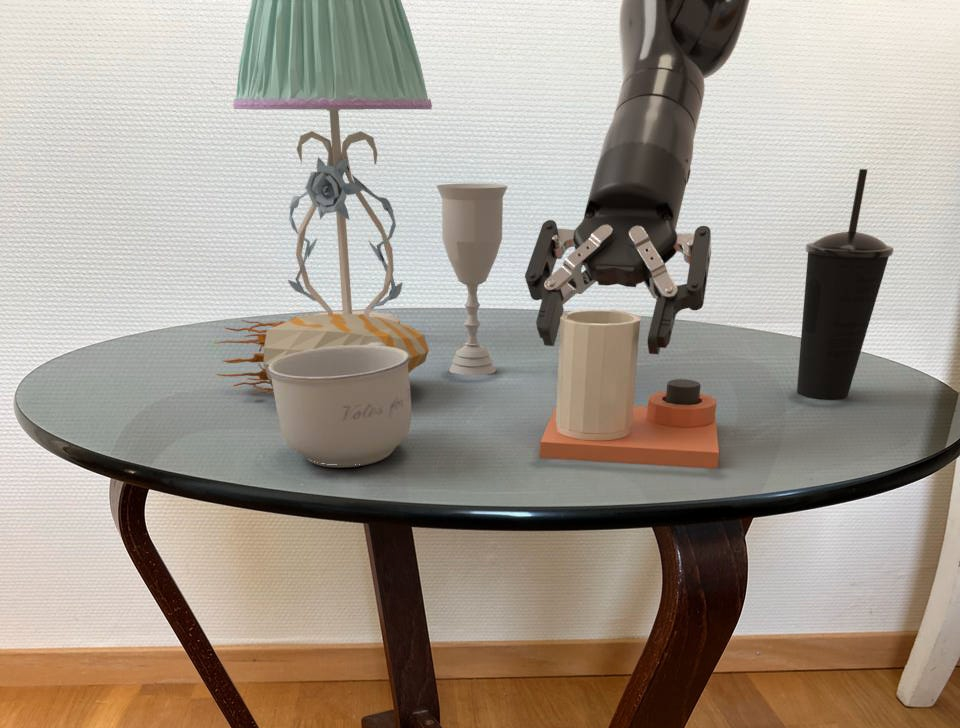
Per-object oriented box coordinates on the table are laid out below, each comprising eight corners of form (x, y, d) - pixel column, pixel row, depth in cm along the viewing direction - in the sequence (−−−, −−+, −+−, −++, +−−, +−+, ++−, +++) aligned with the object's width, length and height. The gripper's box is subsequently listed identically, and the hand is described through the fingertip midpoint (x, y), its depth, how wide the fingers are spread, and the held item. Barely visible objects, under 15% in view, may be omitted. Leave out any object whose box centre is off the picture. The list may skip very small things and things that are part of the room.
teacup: (362, 488, 70) (355, 379, 66) (249, 464, 74) (237, 361, 70) (456, 438, 80) (455, 342, 76) (353, 420, 85) (347, 329, 81)
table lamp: (224, 350, 109) (169, -77, 90) (310, 317, 127) (280, -45, 108) (396, 364, 104) (377, -90, 84) (461, 327, 121) (457, -54, 102)
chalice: (468, 381, 97) (467, 189, 88) (426, 370, 101) (421, 185, 93) (518, 370, 101) (523, 186, 93) (476, 359, 106) (476, 182, 97)
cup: (632, 421, 80) (641, 311, 76) (629, 443, 75) (638, 326, 70) (560, 417, 81) (565, 308, 77) (551, 438, 76) (556, 323, 71)
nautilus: (185, 408, 90) (266, 379, 103) (390, 414, 83) (449, 383, 96) (170, 321, 87) (255, 303, 99) (383, 321, 80) (445, 301, 93)
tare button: (698, 400, 81) (700, 379, 80) (698, 408, 79) (701, 388, 78) (665, 398, 82) (667, 378, 81) (665, 407, 79) (667, 386, 79)
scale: (712, 425, 84) (716, 392, 82) (717, 469, 73) (722, 432, 72) (556, 417, 86) (558, 384, 84) (539, 458, 76) (540, 421, 74)
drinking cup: (859, 408, 89) (907, 172, 79) (776, 399, 91) (813, 170, 82) (866, 389, 95) (912, 168, 85) (788, 381, 98) (824, 166, 88)
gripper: (550, 137, 76) (502, 309, 72) (729, 139, 72) (688, 321, 68) (566, 204, 83) (522, 364, 79) (729, 209, 79) (692, 378, 75)
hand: (599, 344), depth 74 cm, fingers open, 8 cm apart
